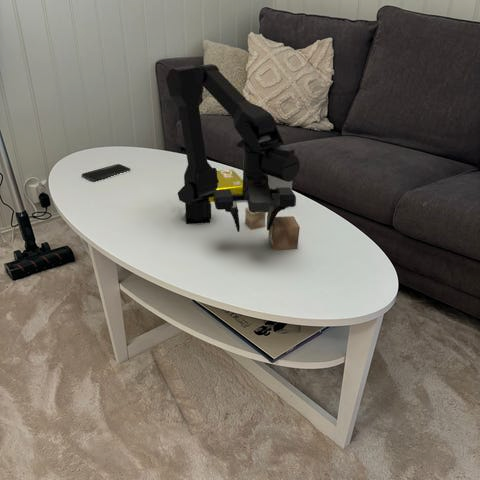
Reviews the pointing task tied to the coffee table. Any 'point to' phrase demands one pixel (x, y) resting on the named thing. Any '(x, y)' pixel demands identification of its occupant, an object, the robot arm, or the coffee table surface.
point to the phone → (105, 172)
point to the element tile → (229, 182)
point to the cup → (278, 183)
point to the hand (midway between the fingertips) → (253, 230)
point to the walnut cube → (284, 233)
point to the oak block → (254, 219)
